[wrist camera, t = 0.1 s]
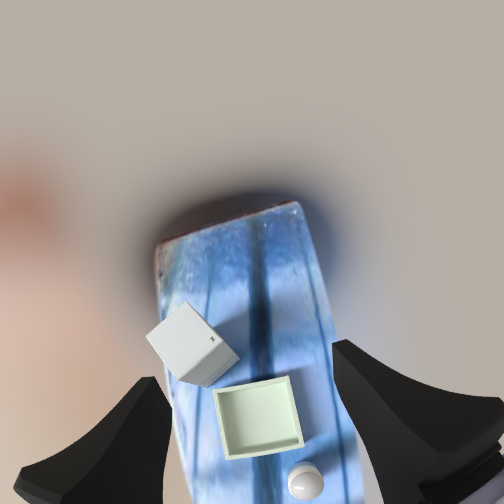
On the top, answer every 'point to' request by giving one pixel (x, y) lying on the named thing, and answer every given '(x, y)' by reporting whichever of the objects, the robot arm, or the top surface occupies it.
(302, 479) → the shaker
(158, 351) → the supplement box
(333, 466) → the top surface
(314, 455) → the top surface
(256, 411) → the tray
